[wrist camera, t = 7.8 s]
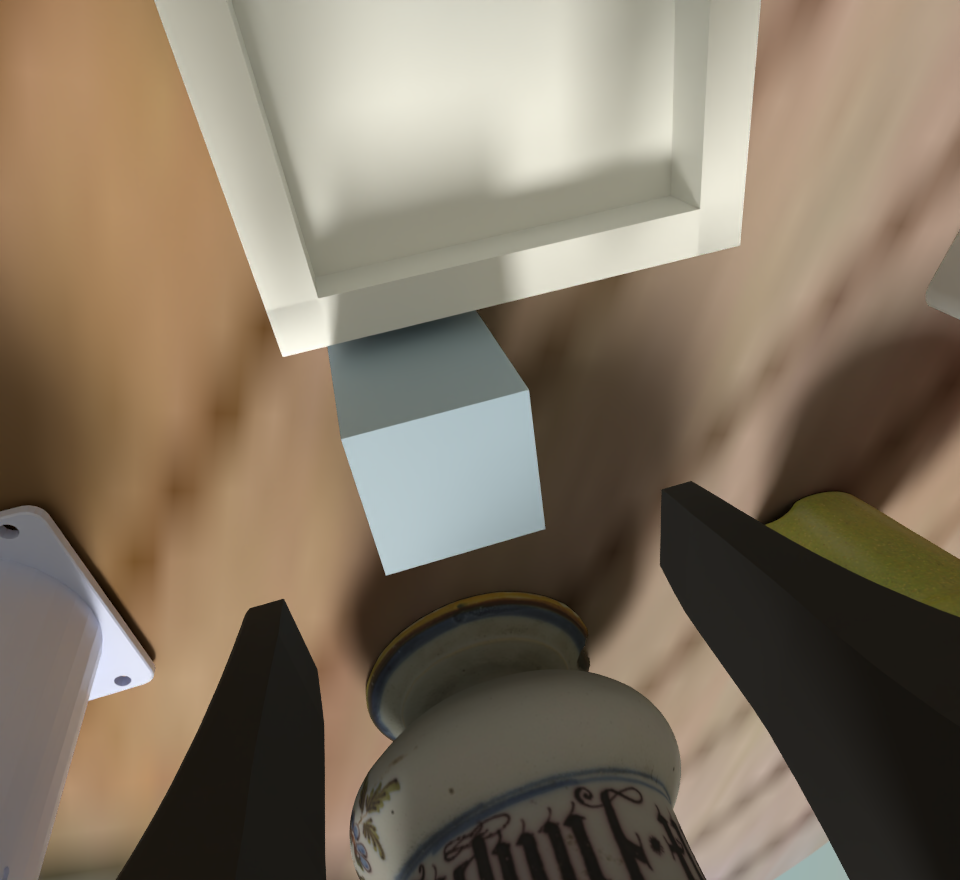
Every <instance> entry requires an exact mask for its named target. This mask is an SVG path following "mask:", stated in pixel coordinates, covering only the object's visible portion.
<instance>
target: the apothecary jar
mask: <svg viewBox="0 0 960 880" xmlns="http://www.w3.org/2000/svg"><path fill="white" fill-rule="evenodd" d="M587 636H588V631H587V628H586V626H585V625H584V623H583V621H582V620H581V619H580V618H579V616H578V615H577V614H576V613H575V612H574V611H572V610H571V609H570V608H569V607H568V606H566V605H565V604H563V603H561V602H559V601H556V600H553V599H551V598H548V597H545V596H542V595H536V594H531V593H523V592H496V593H488V594H483V595H478V596H473V597H470V598H466V599H462V600H459V601H456V602H453V603H451V604H448V605H446V606H444V607H442V608H439V609H437V610H435V611H433V612H431V613H430V614H428V615H426V616H424V617H422V618H421V619H419V620H418V621H416V622H415V623H413V624H412V625H411V626H409V627H408V628H407V629H405V630H404V631H403V632H401V633H400V634H399V635H398V636H397V637H396V638H395V639H394V640H393V641H392V642H391V643H390V644H389V645H388V646H387V647H386V649H385V650H384V651H383V652H382V653H381V654H380V656H379V658H378V660H377V661H376V663H375V665H374V667H373V670H372V672H371V675H370V677H369V679H368V683H367V688H366V700H367V708H368V711H369V715H370V717H371V719H372V721H373V723H374V724H375V726H376V727H377V728H378V729H379V730H380V732H381V733H383V734H384V735H385V736H386V737H387V738H389V739H390V740H392V741H393V743H392V744H391V745H390V746H389V747H388V748H387V749H386V751H385V752H384V753H383V754H382V755H381V757H380V758H379V759H378V760H377V762H376V763H375V764H374V765H373V767H372V768H371V769H370V771H369V772H368V774H367V776H366V777H365V779H364V781H363V783H362V785H361V787H360V789H359V791H358V794H357V796H356V799H355V802H354V806H353V810H352V815H351V821H350V847H351V854H352V859H353V863H354V866H355V869H356V872H357V874H358V877H359V879H360V880H706V878H705V876H704V874H703V873H702V871H701V869H700V867H699V865H698V863H697V861H696V859H695V856H694V855H693V853H692V851H691V849H690V847H689V845H688V842H687V840H686V838H685V836H684V833H683V831H682V829H681V827H680V824H679V822H678V820H677V818H676V815H675V813H674V811H673V808H674V805H675V802H676V799H677V795H678V791H679V786H680V778H681V760H680V753H679V749H678V745H677V742H676V739H675V736H674V734H673V732H672V729H671V727H670V726H669V724H668V722H667V721H666V719H665V718H664V716H663V715H662V714H661V712H660V711H659V710H658V709H657V708H656V707H655V706H654V705H653V704H652V703H651V702H650V701H649V700H648V699H647V698H646V697H644V696H643V695H642V694H640V693H639V692H637V691H636V690H634V689H633V688H631V687H629V686H627V685H625V684H623V683H621V682H619V681H616V680H614V679H611V678H608V677H605V676H602V675H599V674H595V673H591V672H588V671H589V667H590V660H589V658H588V657H587V656H586V655H585V653H584V650H583V648H584V646H585V643H586V639H587Z"/></svg>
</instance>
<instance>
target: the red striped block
mask: <svg viewBox="0 0 960 880" xmlns="http://www.w3.org/2000/svg"><path fill="white" fill-rule="evenodd" d="M926 302H927V304H928V306H930V307H932V308H935V309H937V310H939V311H941V312H944V313H946V314H948V315H950V316H953V317H955V318H957V319H959V320H960V231H959V232H958V234H957V236H956V238H955V239H954V241H953V243H952V245H951V247H950V248H949V250H948V252H947V254H946V255H945V257H944V259H943V261H942V262H941V264H940V266H939V268H938V270H937V271H936V273H935V275H934V277H933V278H932V280H931V282H930V284H929V286H928V289H927V291H926Z"/></svg>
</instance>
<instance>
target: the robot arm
mask: <svg viewBox="0 0 960 880" xmlns="http://www.w3.org/2000/svg"><path fill="white" fill-rule="evenodd" d="M8 524H9V525H12V526H15V527H16V528H17V529H18V530H10V529H7V528H6V527H4V526H3V525H8ZM660 566H661V568H662V570H663V572H664V574H665V576H666V578H667V580H668V582H669V583H670V585H671V587H672V589H673V591H674V593H675V595H676V597H677V598H678V600H679V602H680V604H681V606H682V607H683V609H684V611H685V613H686V614H687V615H688V617H689V618H690V620H691V621H692V623H693V624H694V626H695V627H696V628H697V630H698V631H699V633H700V634H701V636H702V637H703V638H704V640H705V641H706V643H707V644H708V646H709V647H710V648H711V650H712V651H713V653H714V654H715V655H716V657H717V658H718V660H719V661H720V662H721V664H722V665H723V667H724V668H725V670H726V671H727V672H728V674H729V675H730V677H731V678H732V679H733V681H734V682H735V684H736V685H737V686H738V688H739V689H740V691H741V692H742V693H743V695H744V696H745V698H746V699H747V700H748V702H749V703H750V705H751V706H752V707H753V709H754V710H755V712H756V713H757V715H758V717H759V718H760V720H761V721H762V723H763V724H764V726H765V727H766V729H767V730H768V732H769V734H770V735H771V737H772V739H773V741H774V742H775V744H776V746H777V747H778V749H779V751H780V753H781V754H782V756H783V758H784V760H785V761H786V763H787V765H788V767H789V768H790V770H791V772H792V774H793V775H794V777H795V779H796V780H797V782H798V784H799V786H800V788H801V790H802V791H803V793H804V795H805V797H806V799H807V801H808V802H809V804H810V806H811V808H812V810H813V811H814V813H815V815H816V817H817V819H818V821H819V822H820V824H821V826H822V828H823V830H824V831H825V833H826V835H827V837H828V839H829V841H830V843H831V845H832V847H833V848H834V851H835V853H836V854H837V856H838V858H839V860H840V862H841V864H842V866H843V868H844V870H845V872H846V874H847V876H848V878H849V879H850V880H960V617H958V616H956V615H953V614H950V613H947V612H945V611H942V610H939V609H937V608H934V607H932V606H929V605H927V604H924V603H922V602H919V601H917V600H914V599H912V598H910V597H907V596H905V595H903V594H900V593H898V592H896V591H893V590H891V589H889V588H886V587H884V586H882V585H879V584H877V583H875V582H873V581H871V580H868V579H866V578H864V577H862V576H860V575H858V574H856V573H854V572H852V571H850V570H848V569H846V568H844V567H842V566H840V565H838V564H836V563H834V562H832V561H830V560H828V559H826V558H824V557H822V556H820V555H818V554H816V553H814V552H812V551H810V550H809V549H807V548H805V547H803V546H801V545H799V544H797V543H796V542H794V541H792V540H790V539H788V538H787V537H785V536H783V535H781V534H780V533H778V532H776V531H774V530H773V529H771V528H769V527H767V526H766V525H764V524H762V523H761V522H759V521H757V520H755V519H754V518H752V517H750V516H749V515H747V514H745V513H744V512H742V511H740V510H739V509H737V508H735V507H734V506H732V505H730V504H729V503H727V502H725V501H724V500H722V499H721V498H719V497H717V496H716V495H714V494H712V493H711V492H709V491H707V490H706V489H704V488H702V487H701V486H699V485H697V484H695V483H694V482H692V481H690V482H686V483H683V484H679V485H676V486H672V487H669V488H665V489H662V495H661V544H660ZM154 672H155V665H154V663H153V661H152V660H151V659H150V657H149V656H148V654H147V653H146V651H145V650H144V649H143V647H142V646H141V644H140V643H139V642H138V640H137V639H136V637H135V636H134V634H133V633H132V632H131V630H130V629H129V627H128V626H127V624H126V623H125V622H124V620H123V619H122V617H121V616H120V615H119V613H118V612H117V610H116V609H115V607H114V606H113V605H112V603H111V602H110V600H109V599H108V598H107V596H106V595H105V593H104V592H103V590H102V589H101V588H100V586H99V585H98V583H97V582H96V580H95V579H94V578H93V576H92V575H91V573H90V572H89V571H88V569H87V568H86V566H85V565H84V563H83V562H82V561H81V559H80V558H79V556H78V555H77V553H76V552H75V551H74V549H73V548H72V546H71V545H70V544H69V542H68V541H67V539H66V538H65V536H64V535H63V534H62V532H61V531H60V529H59V528H58V527H57V525H56V524H55V522H54V521H53V519H52V518H51V517H50V515H49V514H48V513H47V512H46V511H45V510H43V509H41V508H39V507H37V506H31V505H27V506H20V507H16V508H12V509H8V510H4V511H0V880H38V878H39V874H40V870H41V867H42V863H43V860H44V856H45V853H46V849H47V846H48V842H49V838H50V835H51V831H52V828H53V824H54V821H55V817H56V814H57V810H58V807H59V803H60V799H61V796H62V792H63V789H64V785H65V782H66V778H67V775H68V771H69V768H70V764H71V760H72V757H73V753H74V750H75V746H76V743H77V739H78V736H79V732H80V728H81V725H82V721H83V718H84V714H85V711H86V707H87V704H88V701H89V700H92V699H96V698H99V697H102V696H106V695H109V694H113V693H116V692H119V691H123V690H126V689H129V688H133V687H136V686H139V685H143V684H145V683H147V682H150V681H151V680H152V679H153V676H154ZM124 676H125V677H124ZM116 880H326V866H325V753H324V719H323V710H322V701H321V694H320V686H319V678H318V671H317V668H316V666H315V663H314V661H313V659H312V657H311V655H310V653H309V651H308V649H307V647H306V644H305V642H304V640H303V638H302V636H301V634H300V632H299V630H298V628H297V625H296V623H295V621H294V619H293V617H292V615H291V613H290V611H289V609H288V606H287V604H286V602H285V600H284V599H281V600H278V601H274V602H271V603H267V604H264V605H260V606H257V607H253V608H250V609H249V610H248V611H247V613H246V614H245V617H244V619H243V622H242V625H241V628H240V630H239V633H238V636H237V638H236V641H235V644H234V646H233V649H232V652H231V654H230V657H229V659H228V662H227V664H226V667H225V669H224V672H223V674H222V677H221V679H220V682H219V684H218V686H217V689H216V691H215V693H214V695H213V698H212V700H211V702H210V704H209V707H208V709H207V711H206V714H205V716H204V718H203V720H202V723H201V725H200V727H199V729H198V731H197V734H196V736H195V738H194V740H193V742H192V744H191V746H190V748H189V750H188V752H187V754H186V756H185V758H184V760H183V762H182V764H181V766H180V768H179V770H178V772H177V774H176V776H175V778H174V780H173V782H172V784H171V786H170V788H169V790H168V792H167V793H166V795H165V797H164V799H163V801H162V803H161V804H160V806H159V808H158V810H157V812H156V813H155V815H154V817H153V819H152V821H151V822H150V824H149V826H148V828H147V829H146V831H145V833H144V834H143V836H142V838H141V840H140V841H139V843H138V845H137V846H136V848H135V850H134V851H133V853H132V855H131V856H130V858H129V860H128V861H127V863H126V864H125V866H124V868H123V869H122V871H121V872H120V874H119V875H118V877H117V879H116Z"/></svg>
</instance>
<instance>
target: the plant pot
mask: <svg viewBox="0 0 960 880" xmlns="http://www.w3.org/2000/svg"><path fill="white" fill-rule="evenodd" d="M766 526H767V527H769V528H771V529H773V530H774V531H776V532H778V533H780V534H781V535H783V536H785V537H787V538H788V539H790V540H792V541H794V542H796V543H797V544H799V545H801V546H803V547H805V548H807V549H809V550H810V551H812V552H814V553H816V554H818V555H820V556H822V557H824V558H826V559H828V560H830V561H832V562H834V563H836V564H838V565H840V566H842V567H844V568H846V569H848V570H850V571H852V572H854V573H856V574H858V575H860V576H862V577H864V578H866V579H868V580H871V581H873V582H875V583H877V584H879V585H882V586H884V587H886V588H889V589H891V590H893V591H896V592H898V593H900V594H903V595H905V596H907V597H910V598H912V599H914V600H917V601H919V602H922V603H924V604H927V605H929V606H932V607H934V608H937V609H939V610H942V611H945V612H947V613H950V614H953V615H956V616H958V617H960V559H958V558H956V557H955V556H953V555H951V554H950V553H948V552H946V551H945V550H943V549H941V548H940V547H938V546H936V545H935V544H933V543H931V542H930V541H928V540H926V539H925V538H923V537H921V536H920V535H918V534H916V533H915V532H913V531H911V530H910V529H908V528H906V527H905V526H903V525H902V524H900V523H898V522H897V521H895V520H893V519H892V518H890V517H889V516H887V515H885V514H884V513H882V512H880V511H879V510H877V509H875V508H874V507H872V506H870V505H869V504H867V503H865V502H864V501H862V500H860V499H858V498H857V497H855V496H853V495H851V494H848V493H844V492H836V491H834V492H824V493H819V494H814V495H811V496H808V497H806V498H803V499H801V500H799V501H797V502H796V503H795V504H794V505H793V507H792V508H791V509H790V511H789V512H788V513H787V514H785V515H784V516H783V517H781V518H780V519H778V520H776V521H774V522H771V523H768V524H766Z"/></svg>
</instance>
